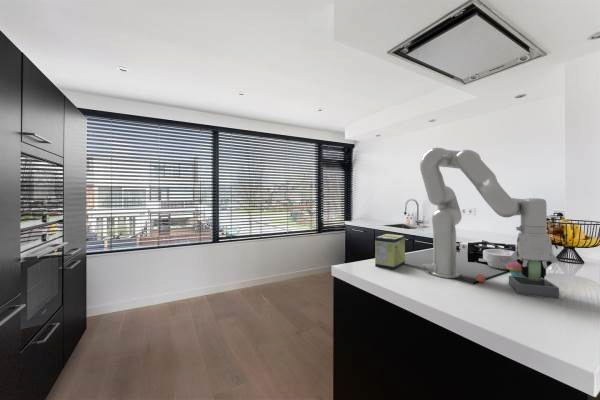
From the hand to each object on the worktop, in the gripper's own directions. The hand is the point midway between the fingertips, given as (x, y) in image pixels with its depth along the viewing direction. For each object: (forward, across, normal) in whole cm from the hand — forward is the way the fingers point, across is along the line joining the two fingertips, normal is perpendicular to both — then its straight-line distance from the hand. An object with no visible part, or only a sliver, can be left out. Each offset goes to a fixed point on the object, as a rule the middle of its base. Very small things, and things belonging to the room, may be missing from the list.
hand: (533, 276), depth 103 cm
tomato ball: (+6, -16, +5) cm, 18 cm away
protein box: (+5, -54, +20) cm, 58 cm away
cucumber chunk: (+1, 0, 0) cm, 1 cm away
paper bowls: (+6, -1, +35) cm, 36 cm away
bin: (+6, 0, 0) cm, 6 cm away
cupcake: (+6, +1, +18) cm, 19 cm away
